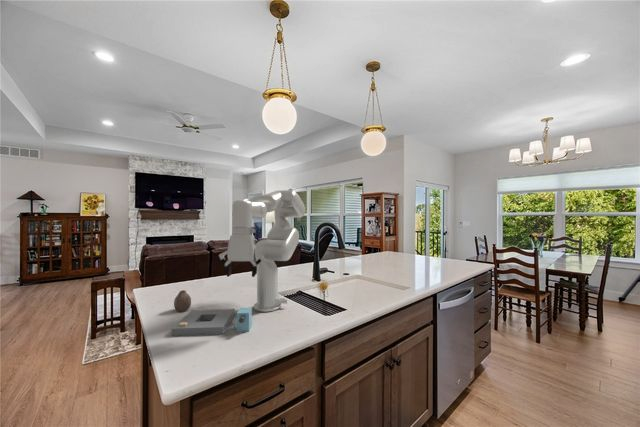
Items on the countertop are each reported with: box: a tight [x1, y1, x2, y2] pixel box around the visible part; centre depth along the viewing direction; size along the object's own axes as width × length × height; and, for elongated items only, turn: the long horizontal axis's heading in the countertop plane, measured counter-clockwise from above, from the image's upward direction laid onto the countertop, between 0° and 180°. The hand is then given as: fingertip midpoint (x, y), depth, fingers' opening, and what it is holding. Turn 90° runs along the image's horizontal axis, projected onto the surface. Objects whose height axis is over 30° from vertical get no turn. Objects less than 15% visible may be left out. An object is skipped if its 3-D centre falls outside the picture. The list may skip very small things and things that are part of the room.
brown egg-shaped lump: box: [173, 289, 192, 313], centre depth 119 cm, size 7×7×9 cm
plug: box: [236, 307, 253, 333], centre depth 99 cm, size 4×8×7 cm, turn 4°
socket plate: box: [171, 308, 236, 336], centre depth 104 cm, size 18×18×3 cm
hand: (241, 276), depth 101 cm, fingers open, 9 cm apart
